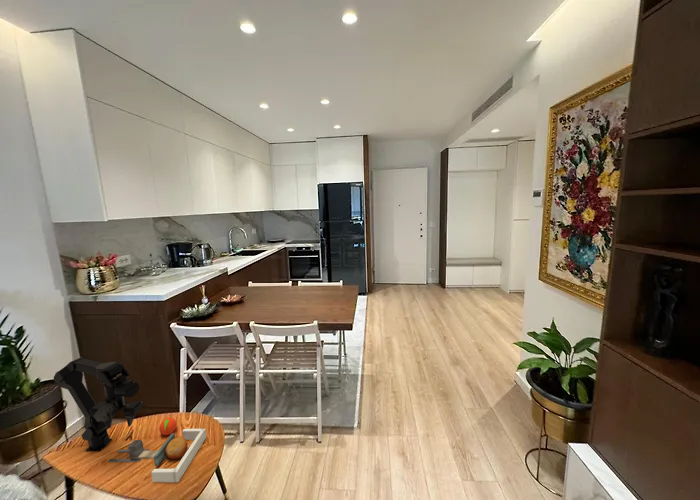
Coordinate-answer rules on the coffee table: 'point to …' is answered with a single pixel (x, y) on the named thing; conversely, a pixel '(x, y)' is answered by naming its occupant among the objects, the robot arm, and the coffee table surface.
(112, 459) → the track
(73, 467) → the coffee table surface
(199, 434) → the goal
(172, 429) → the clementine
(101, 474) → the coffee table surface
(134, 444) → the kicker
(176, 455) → the fruit
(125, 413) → the robot arm
